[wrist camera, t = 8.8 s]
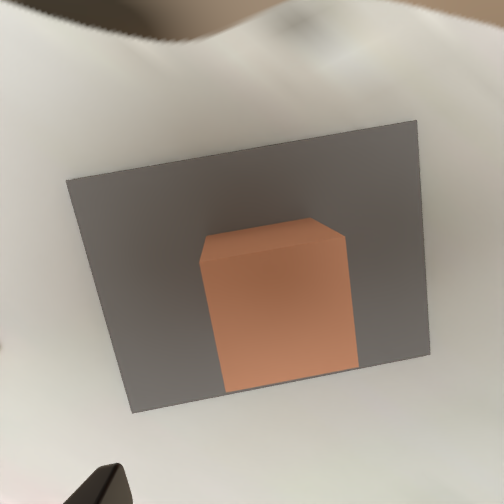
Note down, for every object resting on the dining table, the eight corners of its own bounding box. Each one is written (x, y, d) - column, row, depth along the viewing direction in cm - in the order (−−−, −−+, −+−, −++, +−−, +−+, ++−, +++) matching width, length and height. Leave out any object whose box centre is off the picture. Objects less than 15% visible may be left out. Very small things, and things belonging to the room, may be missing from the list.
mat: (413, 120, 17) (416, 120, 16) (427, 351, 20) (430, 354, 19) (68, 180, 16) (65, 180, 16) (133, 409, 19) (132, 413, 19)
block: (310, 217, 17) (345, 236, 12) (322, 314, 18) (358, 367, 13) (206, 235, 17) (199, 262, 12) (225, 332, 18) (226, 392, 13)
